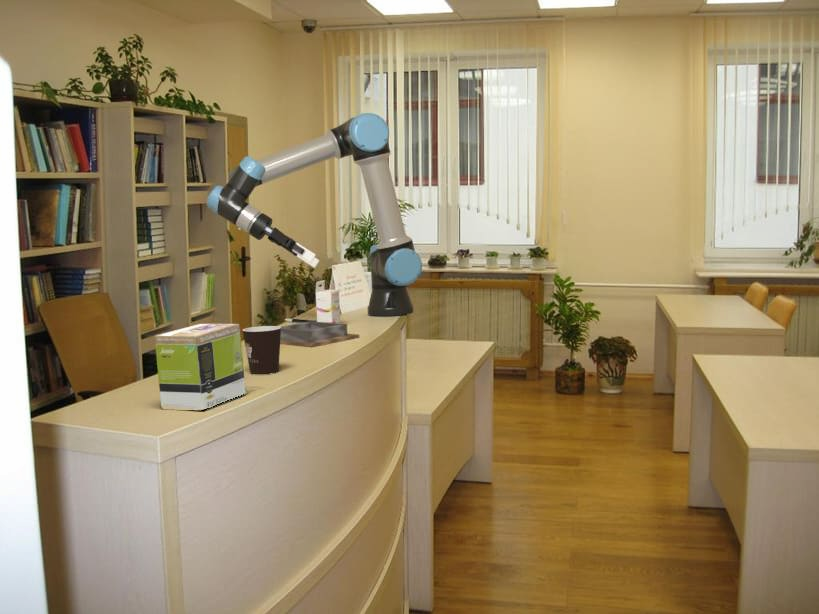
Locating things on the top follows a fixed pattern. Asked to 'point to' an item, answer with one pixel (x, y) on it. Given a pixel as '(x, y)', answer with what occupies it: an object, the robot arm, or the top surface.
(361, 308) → the top surface
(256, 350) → the coffee mug
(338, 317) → the ink cartridge box
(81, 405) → the top surface
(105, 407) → the top surface
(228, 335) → the tea box
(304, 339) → the cartridge holder
